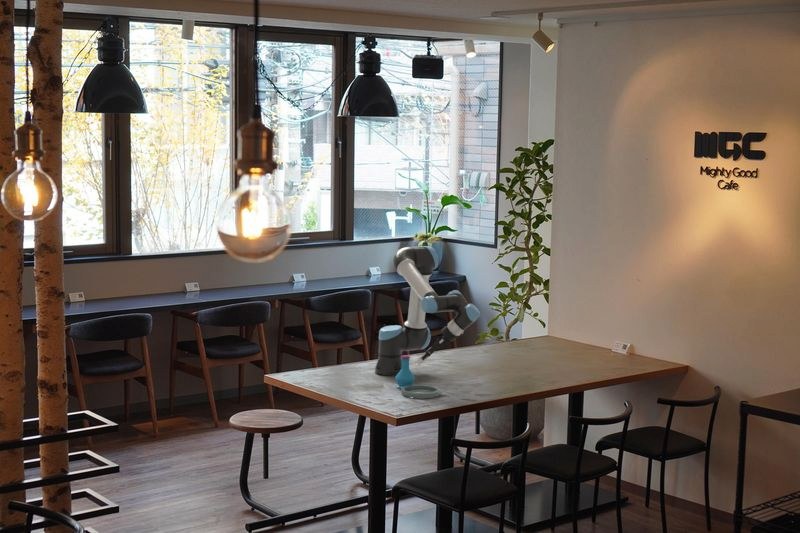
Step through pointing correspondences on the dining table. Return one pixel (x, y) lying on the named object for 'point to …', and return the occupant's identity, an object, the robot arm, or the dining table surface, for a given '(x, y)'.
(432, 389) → the round dish
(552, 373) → the dining table surface
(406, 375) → the perfume bottle
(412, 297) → the robot arm
